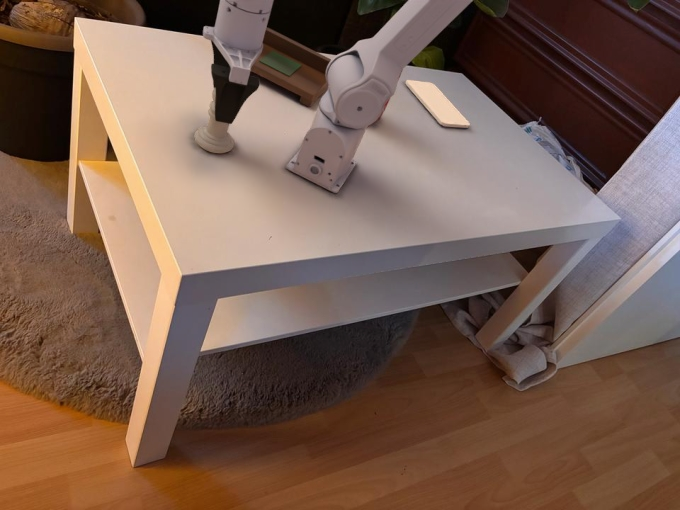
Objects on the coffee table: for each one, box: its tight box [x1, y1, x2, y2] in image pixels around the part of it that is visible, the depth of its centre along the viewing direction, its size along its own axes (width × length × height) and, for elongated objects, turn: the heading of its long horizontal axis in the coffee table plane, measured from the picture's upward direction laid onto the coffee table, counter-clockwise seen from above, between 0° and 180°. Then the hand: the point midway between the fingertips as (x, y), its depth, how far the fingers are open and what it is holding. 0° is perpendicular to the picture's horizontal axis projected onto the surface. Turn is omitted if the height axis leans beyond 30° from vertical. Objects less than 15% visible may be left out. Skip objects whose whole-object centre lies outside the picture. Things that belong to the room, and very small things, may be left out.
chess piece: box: [193, 87, 235, 154], centre depth 73 cm, size 5×5×9 cm
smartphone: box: [405, 79, 471, 129], centre depth 109 cm, size 7×1×15 cm
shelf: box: [250, 27, 332, 108], centre depth 94 cm, size 10×16×5 cm, turn 71°
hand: (222, 104), depth 72 cm, fingers open, 7 cm apart
